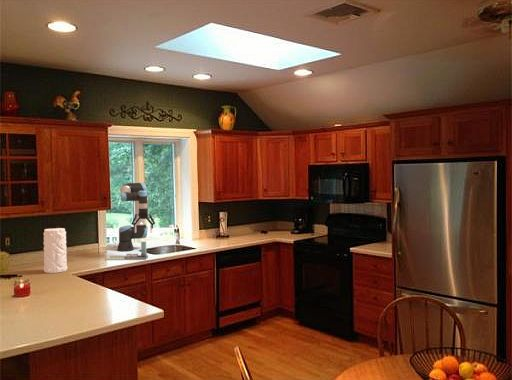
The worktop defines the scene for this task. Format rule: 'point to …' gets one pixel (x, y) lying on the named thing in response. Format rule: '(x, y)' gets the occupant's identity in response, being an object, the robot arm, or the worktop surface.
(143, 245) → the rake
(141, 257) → the slot channel
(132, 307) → the worktop surface
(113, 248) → the worktop surface
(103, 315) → the worktop surface
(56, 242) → the paper towel roll
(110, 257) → the tray
